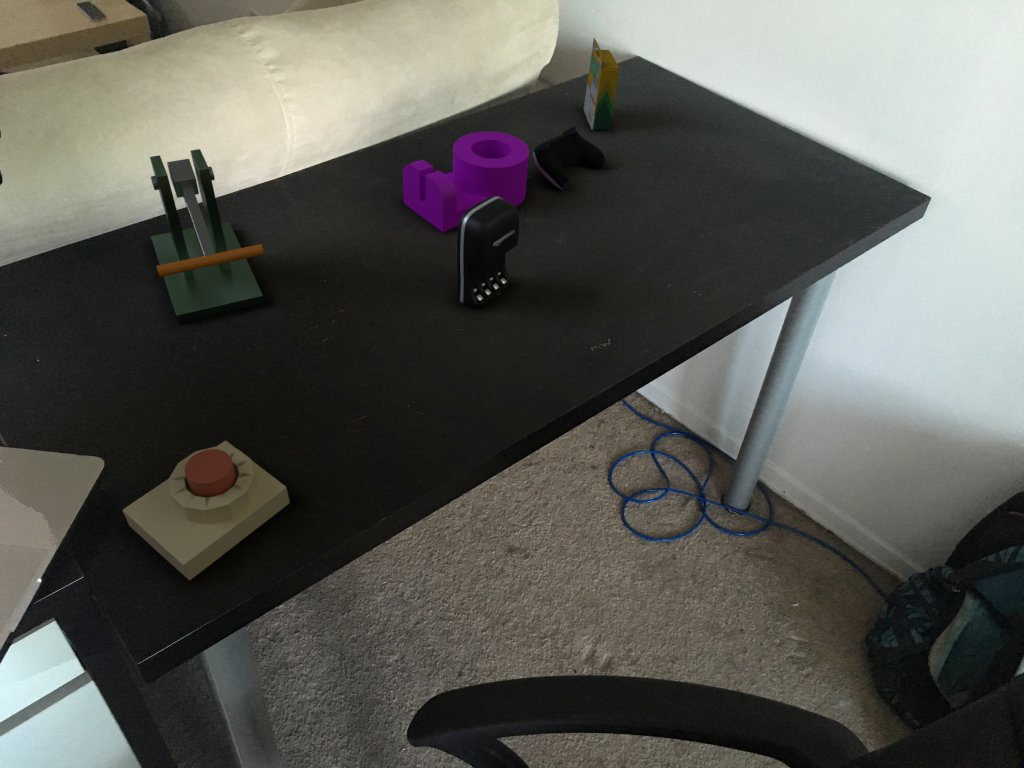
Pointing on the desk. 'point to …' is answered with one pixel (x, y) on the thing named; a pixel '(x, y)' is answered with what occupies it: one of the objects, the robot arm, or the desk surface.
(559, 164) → the gaming controller
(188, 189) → the lever
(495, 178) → the purple bearing bracket
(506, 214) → the battery charger
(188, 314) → the switch bracket
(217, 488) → the stop button
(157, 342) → the desk surface
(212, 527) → the stop housing
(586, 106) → the crayon box
